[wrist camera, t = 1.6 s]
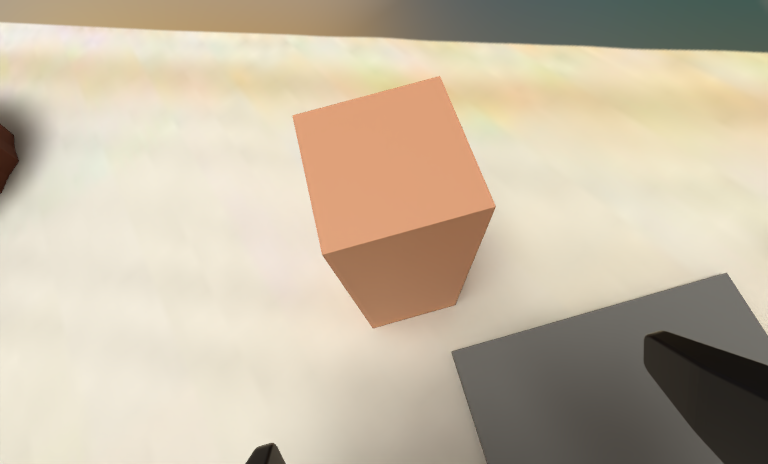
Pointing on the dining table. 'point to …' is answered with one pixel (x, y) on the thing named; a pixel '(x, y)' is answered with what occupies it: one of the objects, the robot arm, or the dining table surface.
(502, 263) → the dining table surface
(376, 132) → the terracotta block
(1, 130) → the muffin
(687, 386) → the robot arm
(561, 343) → the charcoal mat
